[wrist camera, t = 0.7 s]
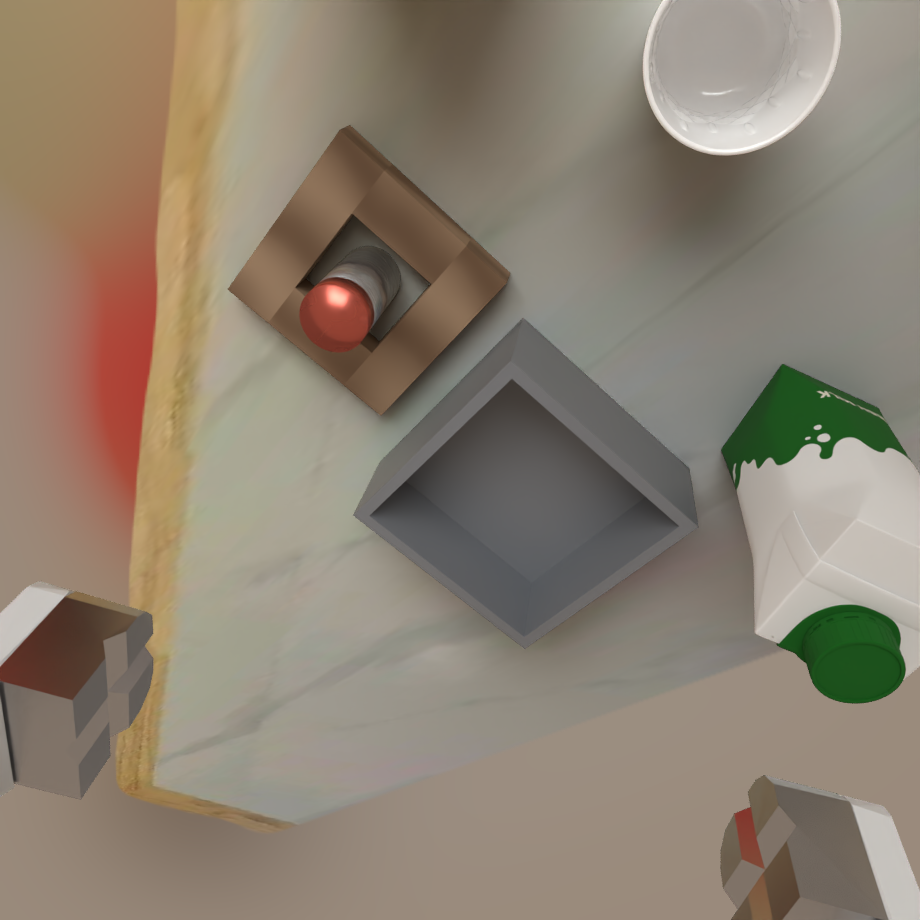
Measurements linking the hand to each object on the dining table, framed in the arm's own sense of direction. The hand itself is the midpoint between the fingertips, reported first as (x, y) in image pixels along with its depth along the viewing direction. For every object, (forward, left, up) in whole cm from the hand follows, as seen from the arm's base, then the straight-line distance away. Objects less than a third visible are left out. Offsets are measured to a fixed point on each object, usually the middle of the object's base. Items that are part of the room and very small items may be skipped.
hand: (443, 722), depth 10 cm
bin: (+17, +12, -41) cm, 46 cm away
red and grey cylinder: (+14, -5, -41) cm, 44 cm away
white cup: (-9, +1, -41) cm, 42 cm away
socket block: (+14, -5, -41) cm, 44 cm away
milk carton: (+2, +22, -41) cm, 47 cm away
